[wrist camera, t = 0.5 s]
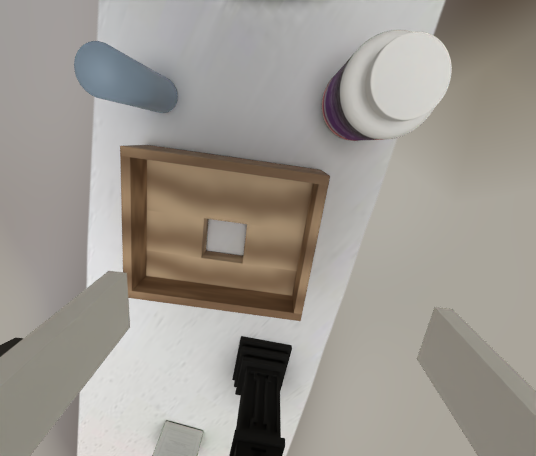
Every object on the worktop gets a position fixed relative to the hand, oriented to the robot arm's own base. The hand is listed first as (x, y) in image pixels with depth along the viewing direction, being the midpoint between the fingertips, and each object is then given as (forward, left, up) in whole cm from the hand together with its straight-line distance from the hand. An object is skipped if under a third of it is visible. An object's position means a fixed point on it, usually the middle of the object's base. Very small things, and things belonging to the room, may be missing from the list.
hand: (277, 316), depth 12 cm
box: (+5, -6, -26) cm, 27 cm away
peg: (-10, -16, -26) cm, 32 cm away
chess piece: (+27, +1, -26) cm, 37 cm away
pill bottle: (-12, +7, -26) cm, 30 cm away
